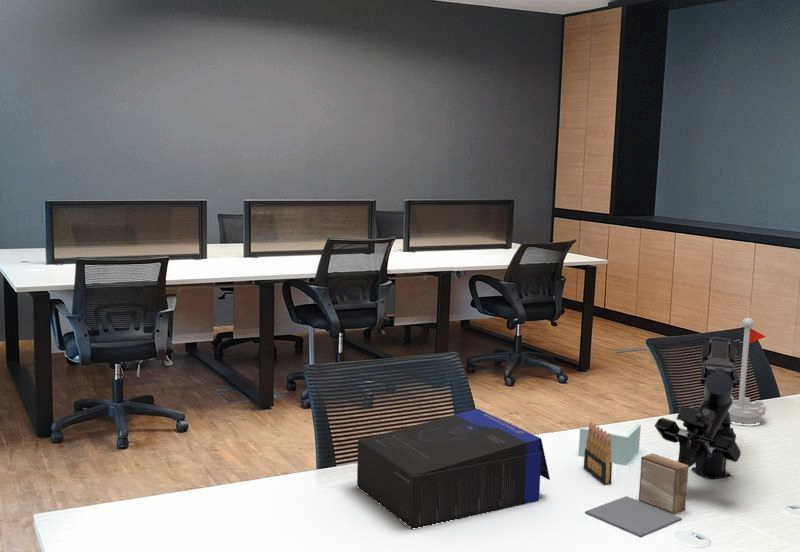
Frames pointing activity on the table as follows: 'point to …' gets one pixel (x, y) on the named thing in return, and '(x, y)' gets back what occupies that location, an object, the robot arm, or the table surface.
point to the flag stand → (743, 407)
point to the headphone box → (451, 468)
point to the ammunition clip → (598, 454)
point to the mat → (633, 516)
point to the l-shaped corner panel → (616, 445)
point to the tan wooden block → (663, 483)
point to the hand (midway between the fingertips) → (679, 470)
